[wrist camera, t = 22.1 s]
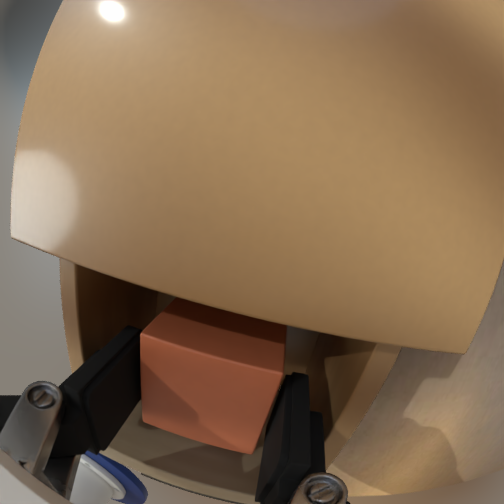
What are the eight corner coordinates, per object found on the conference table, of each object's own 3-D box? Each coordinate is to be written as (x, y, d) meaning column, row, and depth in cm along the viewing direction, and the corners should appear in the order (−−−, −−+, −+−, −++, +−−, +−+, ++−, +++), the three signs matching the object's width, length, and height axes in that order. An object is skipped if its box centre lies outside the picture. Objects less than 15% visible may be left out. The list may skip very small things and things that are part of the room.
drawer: (285, 455, 18) (276, 539, 10) (142, 415, 18) (98, 486, 11) (383, 195, 13) (476, 213, 5) (160, 148, 14) (50, 129, 6)
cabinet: (373, 256, 14) (466, 356, 5) (148, 205, 15) (9, 238, 6) (409, 23, 10) (477, -66, 1) (205, -13, 12) (145, -109, 2)
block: (178, 363, 13) (142, 422, 9) (187, 284, 12) (139, 332, 8) (264, 386, 13) (252, 455, 9) (288, 309, 12) (284, 373, 7)
